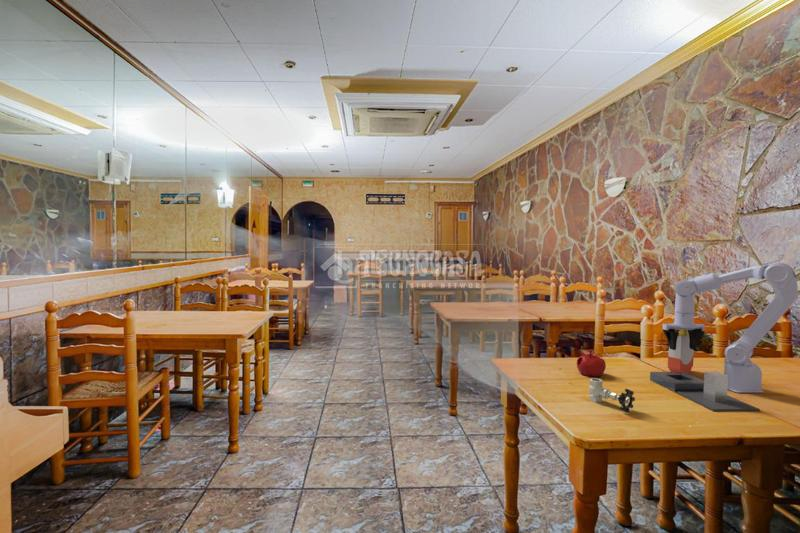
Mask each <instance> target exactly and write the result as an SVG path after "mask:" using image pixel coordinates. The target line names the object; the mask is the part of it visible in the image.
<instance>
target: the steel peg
mask: <svg viewBox="0 0 800 533" xmlns="http://www.w3.org/2000/svg"><path fill="white" fill-rule="evenodd" d="M703 373H704V374H703V376H704V378H703V380H704V394H703V397H705V398H707V399H709V400H711V401H714V402H727V395H728V389H727V387H728V376H727V375H725V374H724V373H722V372H718V371H703Z"/></svg>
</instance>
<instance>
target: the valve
mask: <svg viewBox="0 0 800 533" xmlns="http://www.w3.org/2000/svg"><path fill="white" fill-rule="evenodd" d="M589 380H590V382H589V383H590V384H589V386H588V392H589V401H590V402H593V403H597V404H598V403H599V404H600V403H601V404H602V403H603V399H605V400H608V399H612V400H615V401H618V403H619V404H620V405H621V407H620V411H623V412H625V413H626V412H627V413H629V412H630V409H634V404H633V402H635V401H636V398H635V397H634V395H635V394H634V393H635V392H634V390H631V389H629V388H625V389H624V392H626V393H624V392H622V393H621V394H617V393H616V392H611V390H610V389H609V388H604V387H603V383H604V382H603V381H604V380H603V379H601V378H598V377H597V378H596V377H591V378H590V379H589ZM626 404H627V405H626Z"/></svg>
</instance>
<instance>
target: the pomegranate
mask: <svg viewBox="0 0 800 533" xmlns="http://www.w3.org/2000/svg"><path fill="white" fill-rule="evenodd" d="M600 356H602V355H601V354H600V353H595V352H593V350H592V349H589V350H588V351H585V353H583V352H582V353H580V354H579V358H577V360H576V368H577V370H578V372H579V373H580V374H581V375H583V376H585V377H586V376H587V377H591V378H596V377H597V378H598V377H600V376H602V375H604V372H605V371H606V369H607V368H606V366H607V364H606V361H605V359H604V358H601V357H600Z"/></svg>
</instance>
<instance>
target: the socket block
mask: <svg viewBox="0 0 800 533" xmlns="http://www.w3.org/2000/svg"><path fill="white" fill-rule="evenodd" d="M649 381H651V382H652V383H655V384H657V385H659V386H661V387H663V388H665V389H667V390H669V391H671V392H673V393H677V392H704V379H702V378H698V377H696V376H694V375H691V374H690V373H684V372H671V371H650V375H649Z"/></svg>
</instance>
